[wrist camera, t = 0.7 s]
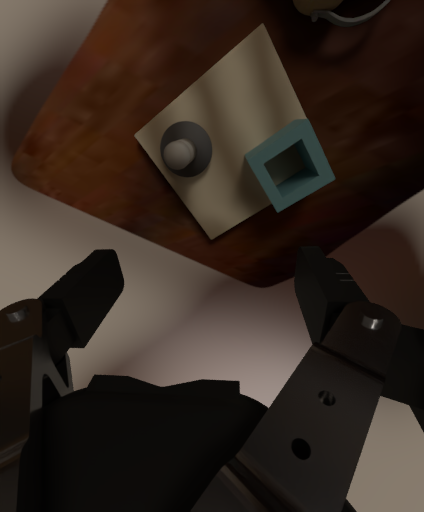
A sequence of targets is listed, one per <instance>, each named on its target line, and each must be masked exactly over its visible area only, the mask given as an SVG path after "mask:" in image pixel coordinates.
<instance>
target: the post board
mask: <svg viewBox="0 0 424 512" xmlns="http://www.w3.org/2000/svg"><path fill="white" fill-rule="evenodd" d="M296 119H307V118H306V116H305V114H304V112H303V109H302V107H301V105H300V103H299V101H298V98H297V96H296V94H295V92H294V90H293V87H292V85H291V83H290V81H289V79H288V76H287V74H286V72H285V70H284V68H283V66H282V63H281V61H280V59H279V57H278V55H277V52H276V50H275V48H274V46H273V44H272V41H271V39H270V37H269V35H268V33H267V30H266V28H265V26H264V24H263V23H262V24H261V25H260V26H259V27H258V28H256V29H255V30H254V31H253V32H252V33H251V34H250V35H248V36H247V37H246V38H245V39H244V40H243V41H242V42H240V43H239V44H238V45H237V46H236V47H235V48H234V49H232V50H231V51H230V52H229V53H228V54H227V55H226V56H224V57H223V58H222V59H221V60H220V61H219V62H218V63H216V64H215V65H214V66H213V67H212V68H211V69H209V70H208V71H207V72H206V73H205V74H204V75H203V76H201V77H200V78H199V79H198V80H197V81H196V82H195V83H193V84H192V85H191V86H190V87H189V88H188V89H187V90H185V91H184V92H183V93H182V94H181V95H180V96H179V97H177V98H176V99H175V100H174V101H173V102H172V103H171V104H169V105H168V106H167V107H166V108H165V109H164V110H162V111H161V112H160V113H159V114H158V115H157V116H156V117H154V118H153V119H152V120H151V121H150V122H149V123H148V124H146V125H145V126H144V127H143V128H142V129H141V130H140V131H138V132H137V133H136V134H135V135H134V136H135V137H136V139H137V140H138V141H139V143H140V144H141V145H142V147H143V148H144V149H145V151H146V152H147V153H148V155H149V156H150V158H151V159H152V160H153V162H154V163H155V164H156V166H157V167H158V168H159V170H160V171H161V172H162V174H163V175H164V177H165V178H166V179H167V181H168V182H169V183H170V185H171V186H172V187H173V189H174V190H175V191H176V193H177V194H178V195H179V197H180V198H181V200H182V201H183V202H184V204H185V205H186V206H187V208H188V209H189V210H190V212H191V213H192V214H193V216H194V217H195V219H196V220H197V221H198V223H199V224H200V225H201V227H202V228H203V229H204V231H205V232H206V233H207V235H208V236H209V238H210V239H211V240H212V239H213V238H215V237H217V236H218V235H220V234H222V233H223V232H225V231H227V230H228V229H230V228H232V227H233V226H235V225H237V224H238V223H240V222H242V221H243V220H245V219H247V218H248V217H250V216H252V215H253V214H255V213H257V212H258V211H260V210H262V209H263V208H265V207H267V206H268V205H270V204H272V203H271V201H270V199H269V197H268V196H267V194H266V192H265V191H264V189H263V187H262V185H261V184H260V182H259V180H258V179H257V177H256V175H255V174H254V172H253V170H252V168H251V167H250V165H249V163H248V162H247V159H246V157H245V154H246V153H248V152H249V151H251V150H252V149H254V148H255V147H256V146H258V145H259V144H261V143H262V142H264V141H265V140H266V139H268V138H269V137H271V136H272V135H274V134H275V133H276V132H278V131H279V130H281V129H282V128H284V127H285V126H287V125H288V124H289V123H291V122H292V121H294V120H296ZM264 166H265V168H266V170H267V171H268V173H269V175H270V177H271V179H272V180H273V182H274V184H275V186H276V185H278V184H280V183H281V182H283V181H284V180H286V179H288V178H289V177H291V176H292V175H294V174H296V173H297V172H299V171H300V170H302V169H304V168H305V165H304V163H303V161H302V159H301V157H300V155H299V153H298V151H297V149H296V147H295V145H294V144H293V145H291V146H290V147H288V148H287V149H285V150H284V151H282V152H281V153H279V154H278V155H276V156H275V157H273V158H272V159H270V160H269V161H267V162H266V163H264Z"/></svg>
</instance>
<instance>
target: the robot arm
mask: <svg viewBox="0 0 424 512" xmlns="http://www.w3.org/2000/svg"><path fill="white" fill-rule="evenodd" d="M294 282H295V293H296V296H297V298H298V302H299V305H300V308H301V311H302V314H303V317H304V320H305V323H306V326H307V329H308V332H309V335H310V338H311V341H312V344H313V345H312V346H311V347H310V349H309V350H308V352H307V353H306V354H305V356H304V357H303V359H302V360H301V362H300V364H299V365H298V366H297V368H296V369H295V371H294V372H293V374H292V375H291V376H290V378H289V379H288V381H287V382H286V384H285V385H284V387H283V388H282V390H281V391H280V393H279V394H278V396H277V397H276V399H275V400H274V401H273V403H272V404H271V406H270V407H269V408H268V407H266V406H265V405H263V404H262V403H260V402H258V401H256V400H254V399H252V398H250V397H248V396H245V395H242V394H240V386H239V385H240V384H239V381H226V380H204V379H202V380H196V381H192V382H186V383H181V384H176V385H171V386H166V387H160V386H156V385H153V384H150V383H147V382H144V381H141V380H138V379H135V378H132V377H129V376H114V375H94V376H93V378H92V380H91V382H90V383H89V385H88V387H87V388H83V389H80V390H77V391H74V390H73V383H72V374H71V367H70V359H69V356H68V354H67V351H68V349H69V348H84V347H85V346H86V345H87V343H88V342H89V340H90V339H91V337H92V336H93V334H94V333H95V331H96V330H97V328H98V327H99V325H100V324H101V322H102V321H103V319H104V318H105V316H106V315H107V313H108V312H109V311H110V309H111V308H112V306H113V305H114V303H115V302H116V300H117V299H118V297H119V296H120V294H121V293H122V291H123V288H124V278H123V274H122V271H121V267H120V264H119V260H118V257H117V254H116V252H115V251H114V250H113V249H105V250H104V249H103V250H95V251H93V252H92V253H91V254H90V255H89V256H88V257H87V258H86V259H85V260H83V261H82V262H81V263H79V264H77V265H75V266H73V267H72V268H71V269H70V270H69V271H68V272H67V273H66V275H63V276H62V277H61V278H60V279H59V281H57V282H56V283H54V285H52V286H51V287H50V288H49V289H48V290H47V291H45V292H44V293H43V294H42V295H41V296H40V297H39V298H38V299H25V300H21V301H18V302H15V303H13V304H11V305H9V306H7V307H5V308H3V309H2V310H0V512H356V510H355V509H354V508H353V507H352V505H351V504H350V503H349V502H348V500H347V499H346V496H347V493H348V490H349V487H350V484H351V481H352V478H353V475H354V472H355V469H356V466H357V463H358V460H359V457H360V454H361V451H362V448H363V445H364V442H365V439H366V436H367V433H368V430H369V427H370V425H371V422H372V418H373V415H374V412H375V409H376V406H377V404H378V401H379V398H380V396H383V397H386V398H389V399H392V400H395V401H398V402H401V403H404V404H407V405H409V406H410V408H411V410H412V411H413V413H414V415H415V417H416V419H417V421H418V422H419V424H420V426H421V428H422V430H423V432H424V330H423V329H419V328H414V327H410V326H406V325H402V324H401V322H400V320H399V319H398V317H397V316H396V315H395V314H394V313H393V312H391V311H390V310H388V309H386V308H385V307H383V306H380V305H378V304H375V303H371V302H369V300H368V299H367V297H366V296H365V295H364V293H363V292H362V290H361V289H360V288H359V286H358V285H357V284H356V282H355V281H353V278H352V277H351V275H350V274H349V273H348V271H347V270H346V268H345V267H344V266H343V265H342V264H341V263H340V262H338V261H336V260H335V259H333V258H326V257H325V255H324V254H323V252H322V250H321V249H320V247H318V246H316V247H299V249H298V253H297V262H296V270H295V280H294Z"/></svg>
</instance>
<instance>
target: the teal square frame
mask: <svg viewBox="0 0 424 512" xmlns="http://www.w3.org/2000/svg"><path fill="white" fill-rule="evenodd" d="M293 144H294V145H295V147H296V149H297V151H298V153H299V155H300V157H301V159H302V161H303V163H304V165H305V168H304V169H302V170H300V171H299V172H297V173H296V174H294V175H292V176H291V177H289V178H288V179H286V180H284V181H283V182H281V183H280V184H278V185H276V186H275V184H274V182H273V180H272V179H271V177H270V175H269V173H268V171H267V170H266V168H265V166H264V163H266V162H267V161H269V160H270V159H272V158H273V157H275V156H276V155H278V154H279V153H281V152H282V151H284V150H285V149H287V148H288V147H290V146H291V145H293ZM245 157H246V159H247V162H248V163H249V165H250V167H251V168H252V170H253V172H254V174H255V175H256V177H257V179H258V180H259V182H260V184H261V185H262V187H263V189H264V191H265V192H266V194H267V196H268V197H269V199H270V201H271V203H272V204H273V206H274V208H275V209H276V211H277V213H278V212H280V211H281V210H283V209H285V208H287V207H288V206H290V205H292V204H294V203H295V202H297V201H299V200H300V199H302V198H304V197H306V196H307V195H309V194H311V193H312V192H314V191H316V190H318V189H319V188H321V187H323V186H324V185H326V184H328V183H330V182H331V181H333V180H335V177H334V174H333V172H332V170H331V168H330V166H329V163H328V161H327V159H326V157H325V155H324V152H323V150H322V148H321V146H320V144H319V141H318V139H317V137H316V135H315V133H314V130H313V128H312V126H311V124H310V122H309V119H296V120H294V121H292V122H291V123H289V124H288V125H287V126H285V127H284V128H282V129H281V130H279V131H278V132H276V133H275V134H274V135H272V136H271V137H269V138H268V139H266V140H265V141H264V142H262V143H261V144H259V145H258V146H256V147H255V148H254V149H252V150H251V151H249V152H248V153H246V154H245Z"/></svg>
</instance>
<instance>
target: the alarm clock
mask: <svg viewBox="0 0 424 512" xmlns="http://www.w3.org/2000/svg"><path fill="white" fill-rule="evenodd" d="M342 1H343V0H293V4H294V6H295V7H296V9H297V10H298V11H299V12H300V13H302V14H304V15H308V16H310V17H311V19H312V22H316V21H317V19H318V17H320V18H325V19H327V20H328V21H330V22H332V23H333V24H335V25H338V26H341V27H351V26H355V25H358V24H361V23H363V22H365V21H367V20H369V19H370V18H372V17H373V16H374V15H376V14H377V13H378V12H379V11H380V10H381V9H382V8H383V7H384V6H385V5H386V4H387V3H388V2H389V1H390V0H385V1H384V2H383V3H382V4H381V5H380V6H379V7H377V8H376V9H375V10H373V11H372V12H370V13H368V14H366V15H364V16H360V17H356V18H344V17H341V16H338V15H336V14H335V13H333V12H331V11H332V10H333V9H335V8H336V7H337V6H338V5H339V4H340V3H341V2H342Z"/></svg>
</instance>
